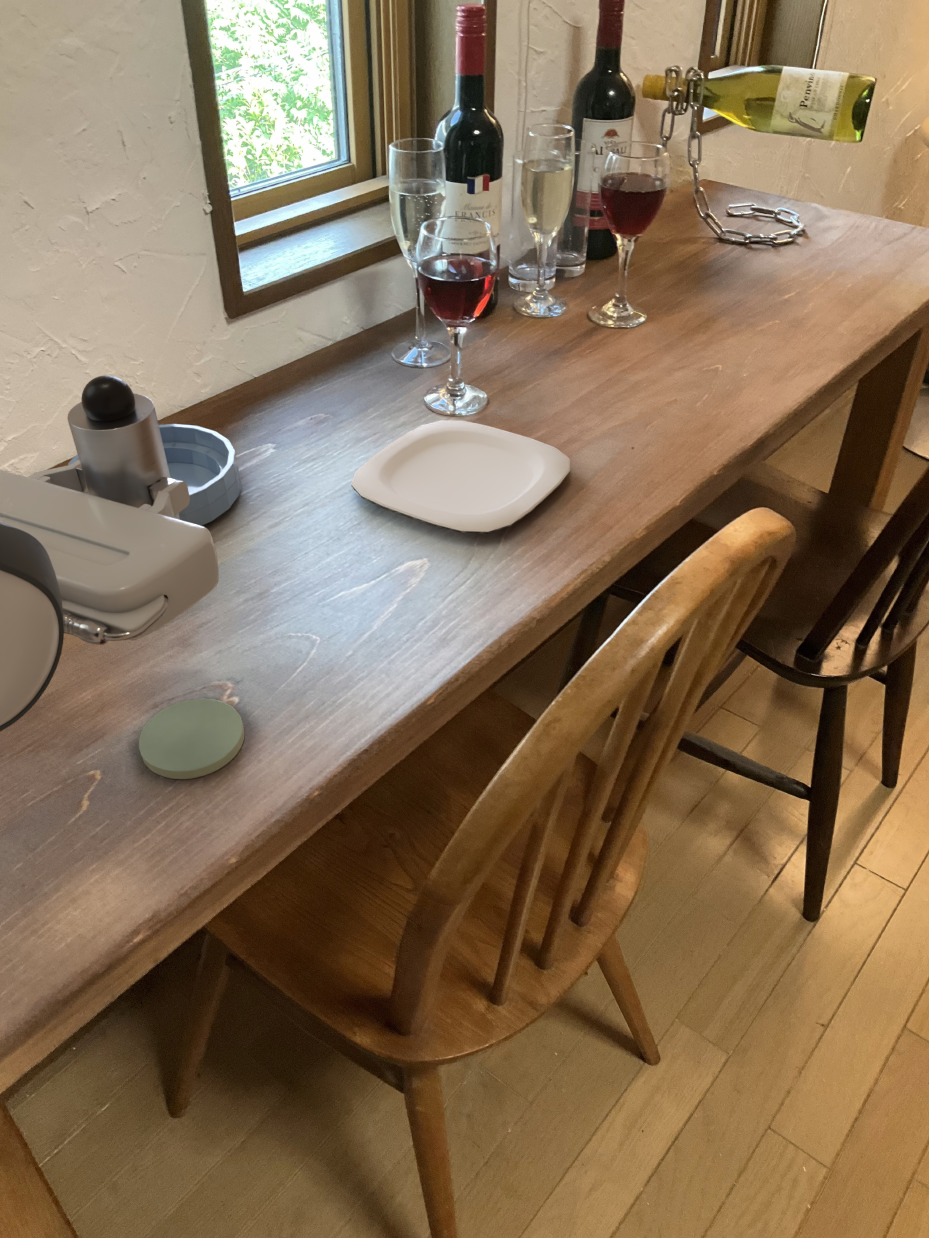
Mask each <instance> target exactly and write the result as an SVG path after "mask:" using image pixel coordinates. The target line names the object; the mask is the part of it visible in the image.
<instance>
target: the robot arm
mask: <svg viewBox="0 0 929 1238" xmlns="http://www.w3.org/2000/svg"><path fill="white" fill-rule="evenodd" d="M149 490H150V494H151V497H152V499H153V500H154V501H153V506H152V507H151V505H148V504H143V505H142V506H141V507H139V508H136V507H132V506H129V505H125V504H122V503H118V502H115V501H111V500H107V499H104V498H100V497H97V496H93V495H89V492H88V488H87V485H86V481H85V478H84V474H83V471H82V467H81V464H80V461H79V460H77V461H75V462H74V463H72V464H71V465H69V466H68V465H63V466H59V467H55V468H54V467H53V468H50V469H45V470H41V471H36V472H33V473H32V474H30V475H28V476H25V475H21V474H18V473H15V472H10V471H7V470H4V469H0V732H2V731H4V730H6V729H7V728H9V727H11V726H12V725H13V724H15V723H17V722H18V721H19V720H20V719H21V718H23V717H24V716H25V715H26V714H27V713H28V712H29V711H30V710H31V708H33V707H34V706H35V705H36V703H37V702H38V701H39V700H40V698H41V697H42V695H43V694H44V693H45V691H46V689H48V686H49V685H50V683H51V681H52V679H53V677H54V675H55V673H56V670H57V668H58V665H59V662H60V660H61V659H60V658H61V656H62V651H63V646H64V640H65V639H64V638H65V634H66V635H70V636H73V637H76V638H78V639H79V640H81V641H83V642H85V643H89V644H91V645H96V646H97V645H98V646H104V645H107V644H108V643H109V642H121V641H136V640H138V639H141V638H144V637H146V636H148V635H150V634H152V633H155V632H156V631H158V630H159V629H161V628H163V627H165V626H166V625H168V624H169V623H171V622H172V621H174V620H175V619H177V618H178V617H180V616H181V615H182V614H184V613H185V612H187V611H188V610H189V609H191V608H192V607H193V606H195V605H196V604H197V603H199V602H200V601H201V600H203V599H204V598H205V597H206V596H207V595H209V594H210V593H211V592H213V590H214V589H215V588H216V587H217V585H218V584H219V580H220V568H219V560H218V555H217V551H216V547H215V542H214V540H213V537H212V534H211V531H210V530H209V529H208V528H207V527H205V526H204V525H202V526H200V525H197V524H193V523H189V522H186V521H182V520H179V519H175V516H176V515H177V514H178V513H180V512H181V511H182V510H183V509H185V508H186V507H187V506H188V505H189V502H190V496H189V491H188V486H187V484H186V482H184V481H180V480H175V479H171V478H167V477H163V478H162V479H161V480H160V482H156V483H155V484H153V485H152V486H151V487H149ZM83 492H84V493H83ZM86 493H88V494H86Z"/></svg>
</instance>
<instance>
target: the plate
mask: <svg viewBox="0 0 929 1238" xmlns="http://www.w3.org/2000/svg"><path fill="white" fill-rule="evenodd" d="M570 460H571V459H570V457H568V456H567V455H566V454H565V453H563V452H562V451H560V450H559V449H558V448H556V447H555V446H552V445H550V444H547V443H545V442H542V441H539V440H537V439H535V438H531V437H528V436H524V435H521V434H518V433H515V432H511V431H509V430H504V429H501V428H497V427H493V426H489V425H485V424H482V423H477V422H472V421H466V420H454V419H453V420H451V419H450V420H449V419H447V420H446V419H441V420H436V421H432V422H429V423H425V424H421V425H418V426H417V427H415V428H414V429H412V430H410V431H408V432H406V433H404V434H402V435H401V436H399V437H398V438H396V439H395V440H394V441H392V442H391V443H389V444H387V445H386V446H385V447H383V448H382V449H381V450H380V451H378V452H377V453H375V454H374V455H373V456H371V457H370V458H369V459H367V460H366V462H364V463H363V464H362V465H361V466H360V467H359V468H357V470H355V471H354V475H353V477H352V481H351V483H350V486H351V488H352V489H353V490H354V491H355V492H356V493H357V494H358V495H359V497H360V498H361V499H363V500H366V501H368V502H370V503H371V504H374V505H376V506H378V507H380V508H381V509H385V510H387V511H390V512H392V513H395V514H398V515H400V516H404V517H406V518H408V519H412V520H414V521H417V522H421V523H423V524H427V525H429V526H432V527H436V528H440V529H444V530H447V531H452V532H455V533H460V534H481V535H482V534H483V535H484V534H485V535H487V534H491V533H494V532H498V531H501V530H504V529H507V528H510V527H512V526H513V525H515V524H516V523H517V522H520V521H521V520H522V519H524V518H525V517H527V516H528V515H529V514H531V512H533V511H534V510H535V509H536V508H537V507H538V506H539V505H540V504H542V503H543V502H544V501H545V500H546V499H547V498H548V497H550V495H551V494H553V492H554V491H556V490H557V489H558V488H559V487H560V485H562V483H563V482H564V481H565V479H566V478H567V477H568V475H569V474H570V471H571V461H570Z"/></svg>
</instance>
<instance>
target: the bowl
mask: <svg viewBox="0 0 929 1238" xmlns="http://www.w3.org/2000/svg"><path fill="white" fill-rule="evenodd" d="M158 425H159V429H160V433H161V438H162V442H163V447H164V451H165V456H166V460H167V464H168V469H169V473H170V478H171V479H175V480H180V481H184V482H186V484H187V486H188V491H189V496H190V502H189V505H188V506H187V507H186V508H185V509H183V510H182V511H181V512H180V513H179V518H180V520H182V521H186V522H189V523H193V524H197V525H200V526H204V525H207V524H208V523H211V522H213V521H214V520H216V519H217V518H219V517H220V516H221V515H223V514H224V513H226V511H228V510H229V509H230V508H231V507H232V505H233V504H234V502H235V501H236V500H237V499H238V497H239V495H240V491H241V483H242V480H241V475H240V469H239V464H238V459H237V453H236V450H235V448H234V446H233V444H232V443H231V441H230V440H229V438H227V437H225V436H224V435H222V434H221V433H219V432H218V431H216V430H213V429H209V428H205V427H203V426H199V425H194V424H193V425H191V424H179V423H165V424H158ZM77 460H79V457H78V454H76V455H75V456H74V457H73V458H72V459H70V460H69V462H68V464H67V466H69V465H71V464H72V463H74V462H75V461H77ZM83 493H84V492H83ZM86 494H88V493H86Z"/></svg>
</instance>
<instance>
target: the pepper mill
mask: <svg viewBox="0 0 929 1238" xmlns="http://www.w3.org/2000/svg"><path fill="white" fill-rule="evenodd" d="M80 398H81V401H80V402H78V403H77V404H75V405H74V406H72V408H71V409H70V410H69V411H68V413H67V422H68V426H69V430H70V432H71V437H72V439H73V443H74V447H75V451H76V453H77V454H78V457H79V461H80V464H81V467H82V471H83V474H84V478H85V481H86V485H87V488H88V492H89V495H93V496H97V497H100V498H104V499H107V500H111V501H115V502H118V503H122V504H125V505H129V506H132V507H136V508H139V507H141V506H142V505H143V504H148V505H151V507H152V506H153V501H154V500H153V499H152V497H151V494H150V490H149V487H151V486H152V485H153V484H155V483H156V482H160V480H161V479H162V478H163V477H167V478H170V473H169V469H168V464H167V460H166V456H165V451H164V447H163V442H162V438H161V433H160V429H159V425H160V424H159V419H158V415H157V412H156V407H155V404H154V402H153V401H152V399H150V398H149V397H148V396H146V395H142V394H140V393H134V392H133V390H132V388H131V386H130V385H128V383H127V382H125V381H124V380H123V379H122V378H119V377H117V376H114V375H106V374H105V375H99V376H96V377H94V378H92V379H90V380H89V381H88V382H87V383H86V385H85V386H84V388H83V390H82V393H81V397H80ZM77 454H76V455H77ZM175 519H179V520H180V518H179V513H178V514H177V515H176V516H175Z"/></svg>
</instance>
